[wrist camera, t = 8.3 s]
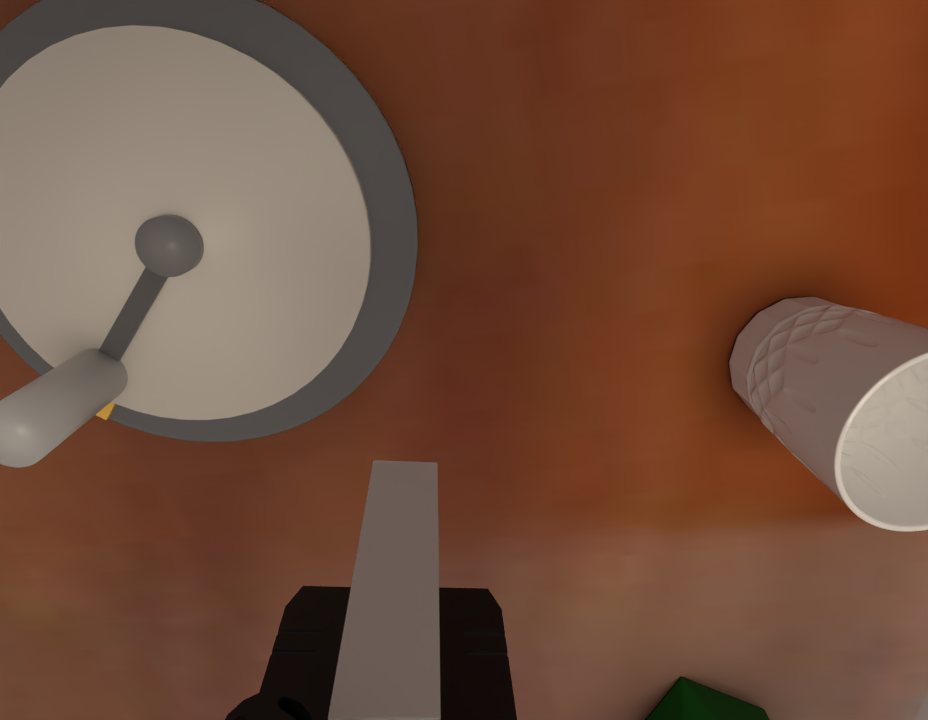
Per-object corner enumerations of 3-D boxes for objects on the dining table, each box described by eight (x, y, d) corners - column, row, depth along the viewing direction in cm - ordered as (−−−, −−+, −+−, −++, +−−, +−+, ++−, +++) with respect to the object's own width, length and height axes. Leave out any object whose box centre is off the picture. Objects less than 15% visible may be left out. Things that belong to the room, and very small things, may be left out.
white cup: (711, 428, 33) (821, 540, 24) (723, 289, 31) (853, 354, 21) (849, 417, 34) (1012, 523, 24) (874, 279, 31) (1067, 338, 22)
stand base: (-72, -34, 24) (-120, -51, 22) (426, 7, 26) (426, -5, 24) (20, 418, 31) (-10, 438, 29) (411, 429, 32) (410, 450, 30)
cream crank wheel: (91, -65, 22) (-63, -160, 15) (443, 195, 26) (449, 214, 19) (-71, 286, 26) (-253, 338, 19) (256, 466, 30) (204, 565, 23)
